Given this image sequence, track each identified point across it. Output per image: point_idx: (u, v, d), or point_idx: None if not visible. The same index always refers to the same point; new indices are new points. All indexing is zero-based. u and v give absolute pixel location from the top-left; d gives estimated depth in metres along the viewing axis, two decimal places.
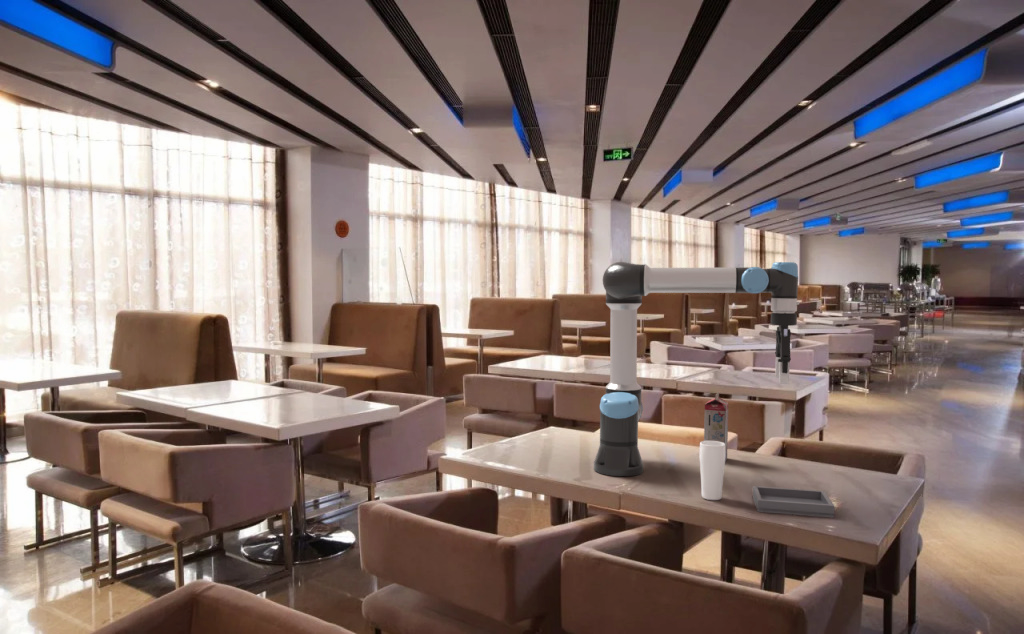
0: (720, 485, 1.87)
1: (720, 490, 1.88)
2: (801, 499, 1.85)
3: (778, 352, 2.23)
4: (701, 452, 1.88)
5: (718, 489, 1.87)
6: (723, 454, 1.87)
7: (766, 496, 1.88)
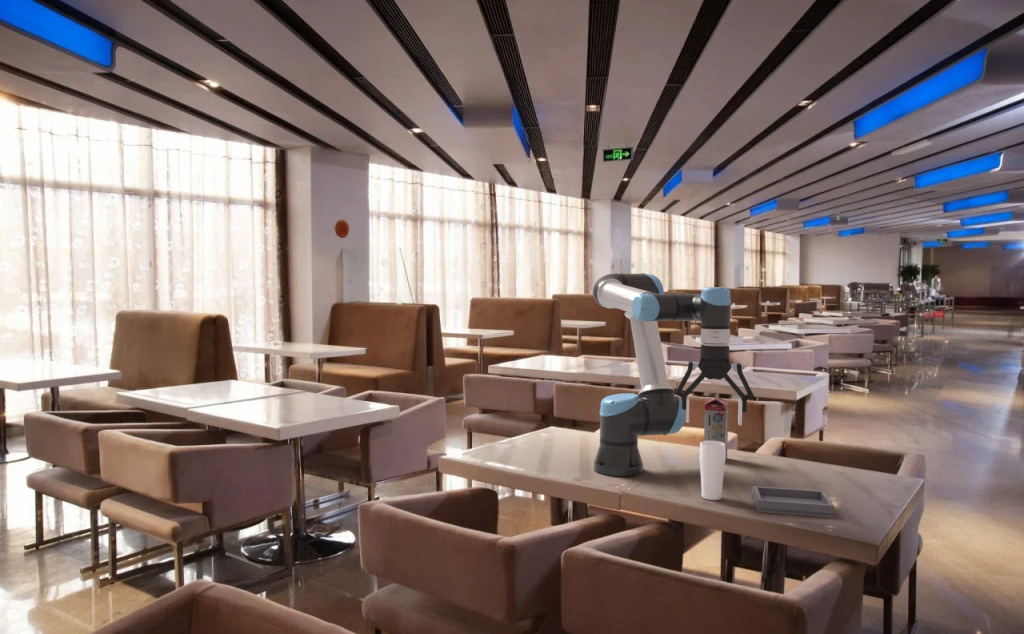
0: (720, 485, 1.87)
1: (720, 490, 1.88)
2: (801, 499, 1.85)
3: None
4: (701, 452, 1.88)
5: (718, 489, 1.87)
6: (723, 454, 1.87)
7: (766, 496, 1.88)
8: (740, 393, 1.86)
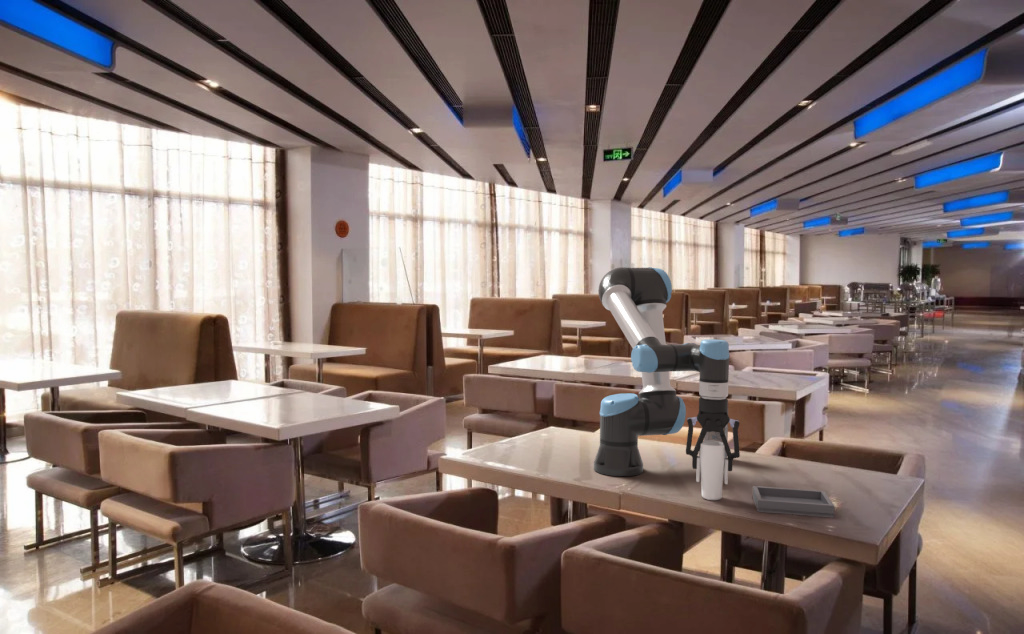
0: (720, 485, 1.87)
1: (720, 490, 1.88)
2: (801, 499, 1.85)
3: None
4: (701, 452, 1.88)
5: (718, 489, 1.87)
6: (723, 454, 1.87)
7: (766, 496, 1.88)
8: (728, 451, 1.87)
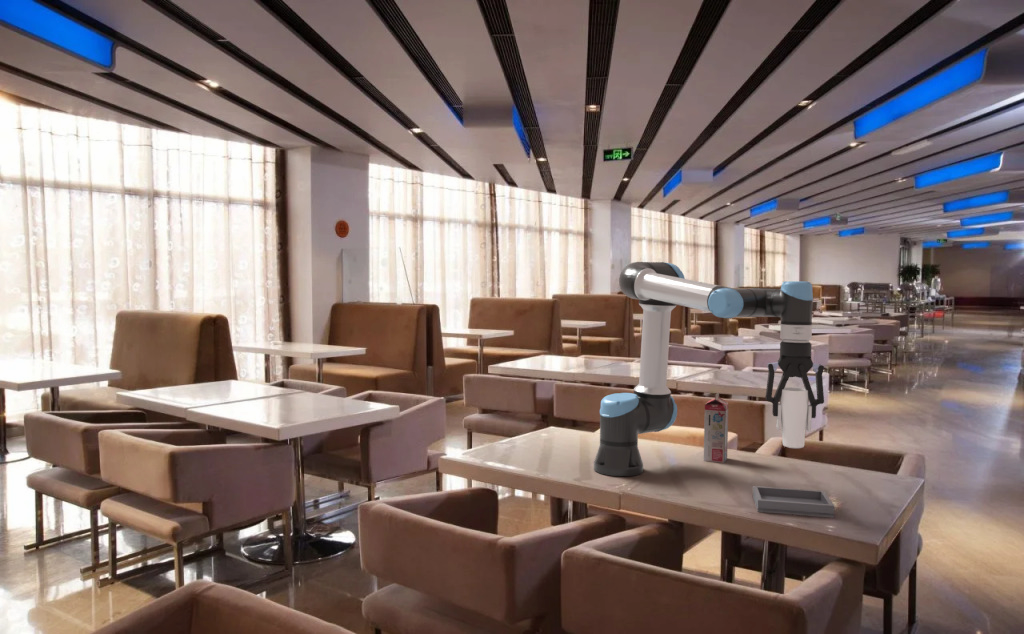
0: (804, 432, 1.79)
1: (803, 438, 1.80)
2: (801, 499, 1.85)
3: (808, 396, 1.81)
4: (783, 398, 1.80)
5: (801, 436, 1.79)
6: (806, 400, 1.79)
7: (766, 496, 1.88)
8: (812, 397, 1.79)
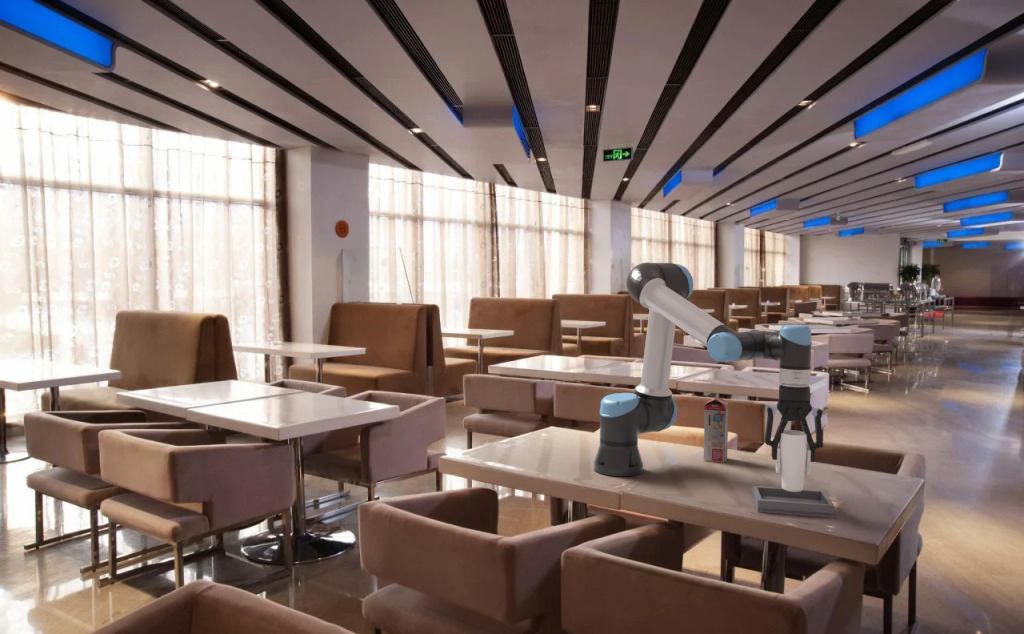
0: (803, 476, 1.80)
1: (802, 481, 1.80)
2: (801, 499, 1.85)
3: (807, 440, 1.82)
4: (782, 442, 1.81)
5: (800, 480, 1.80)
6: (805, 444, 1.79)
7: (766, 496, 1.88)
8: (811, 441, 1.80)
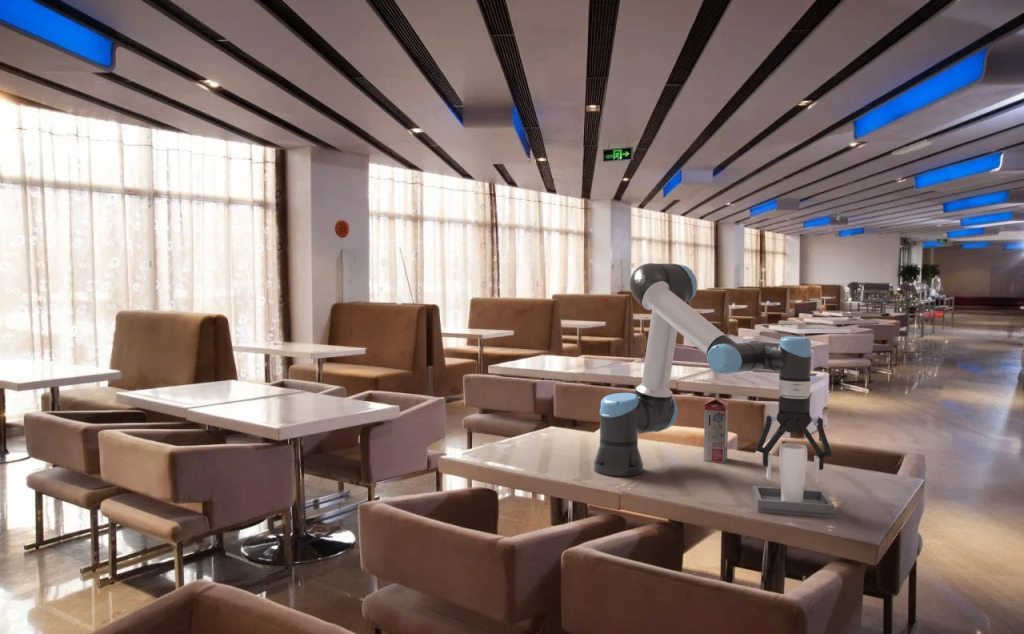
0: (802, 489, 1.80)
1: (802, 495, 1.80)
2: None
3: (814, 449, 1.81)
4: (782, 455, 1.81)
5: (800, 494, 1.80)
6: (805, 457, 1.79)
7: (766, 496, 1.88)
8: (818, 450, 1.79)
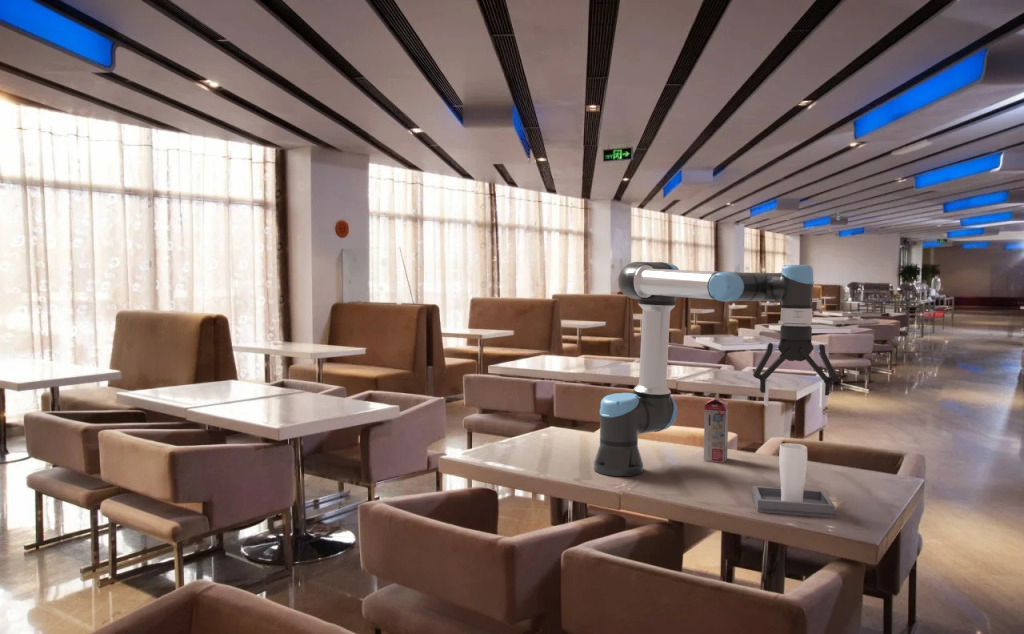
0: (802, 489, 1.80)
1: (802, 495, 1.80)
2: None
3: (819, 375, 1.80)
4: (782, 455, 1.81)
5: (800, 494, 1.80)
6: (805, 457, 1.79)
7: (766, 496, 1.88)
8: (823, 375, 1.78)
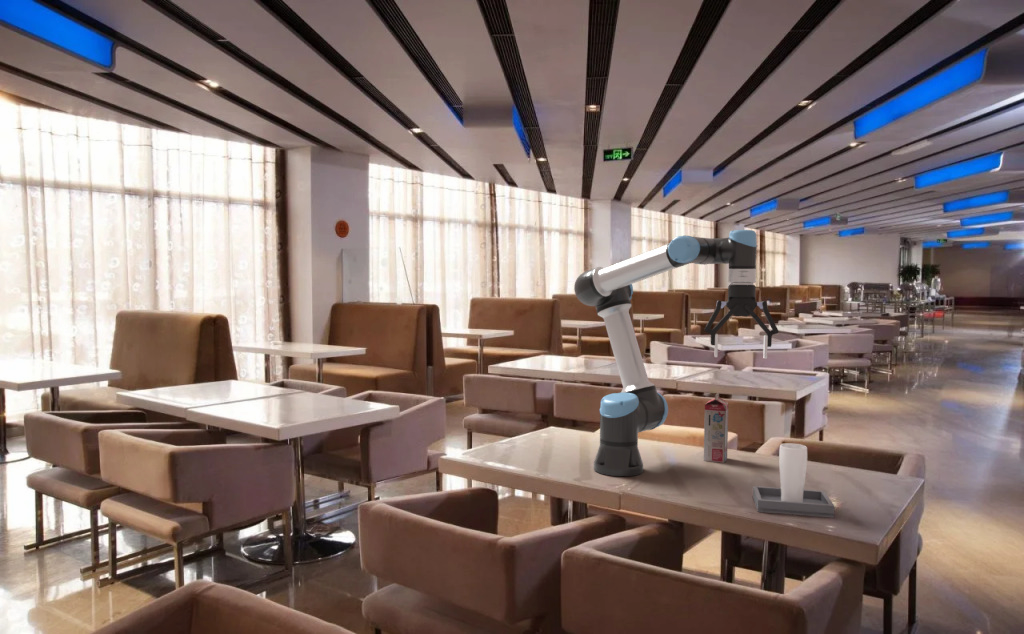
0: (802, 489, 1.80)
1: (802, 495, 1.80)
2: None
3: None
4: (782, 455, 1.81)
5: (800, 494, 1.80)
6: (805, 457, 1.79)
7: (766, 496, 1.88)
8: (765, 328, 1.99)
